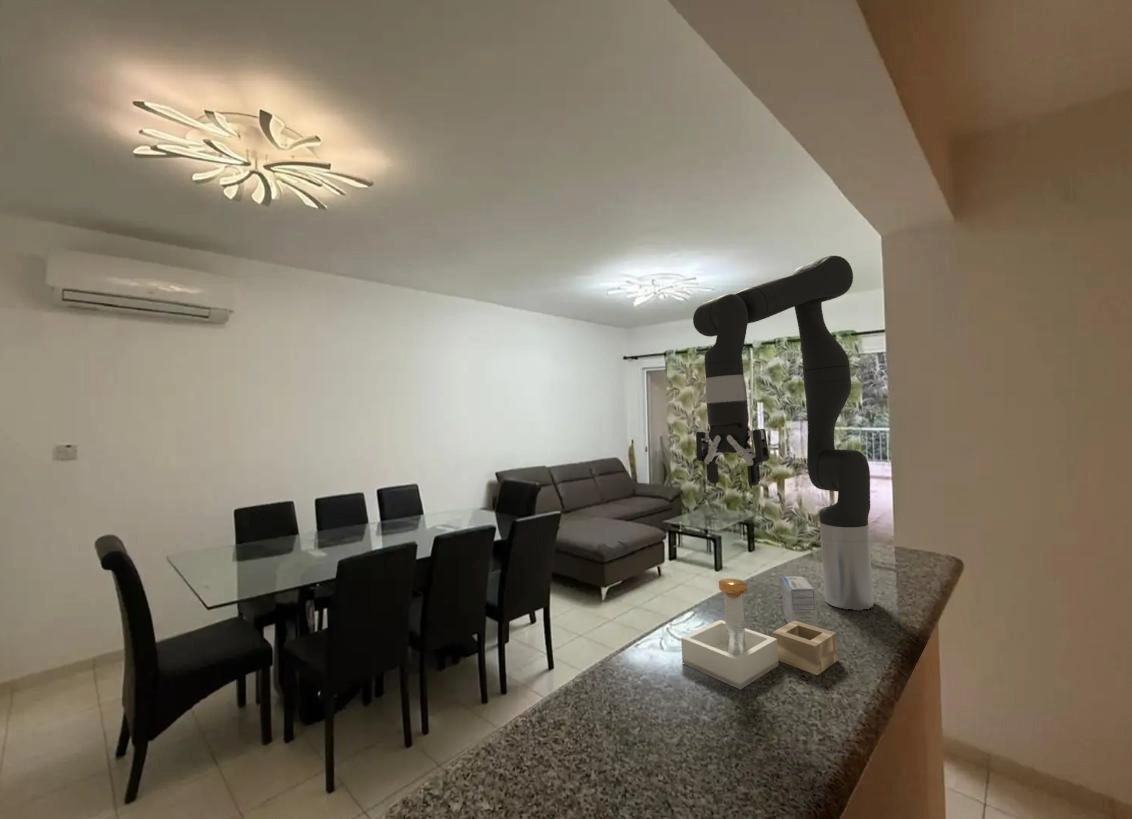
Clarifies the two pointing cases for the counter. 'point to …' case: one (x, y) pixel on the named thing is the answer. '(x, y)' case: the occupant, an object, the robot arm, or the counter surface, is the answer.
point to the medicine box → (799, 600)
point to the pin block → (806, 647)
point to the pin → (734, 614)
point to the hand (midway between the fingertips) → (733, 483)
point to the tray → (729, 655)
